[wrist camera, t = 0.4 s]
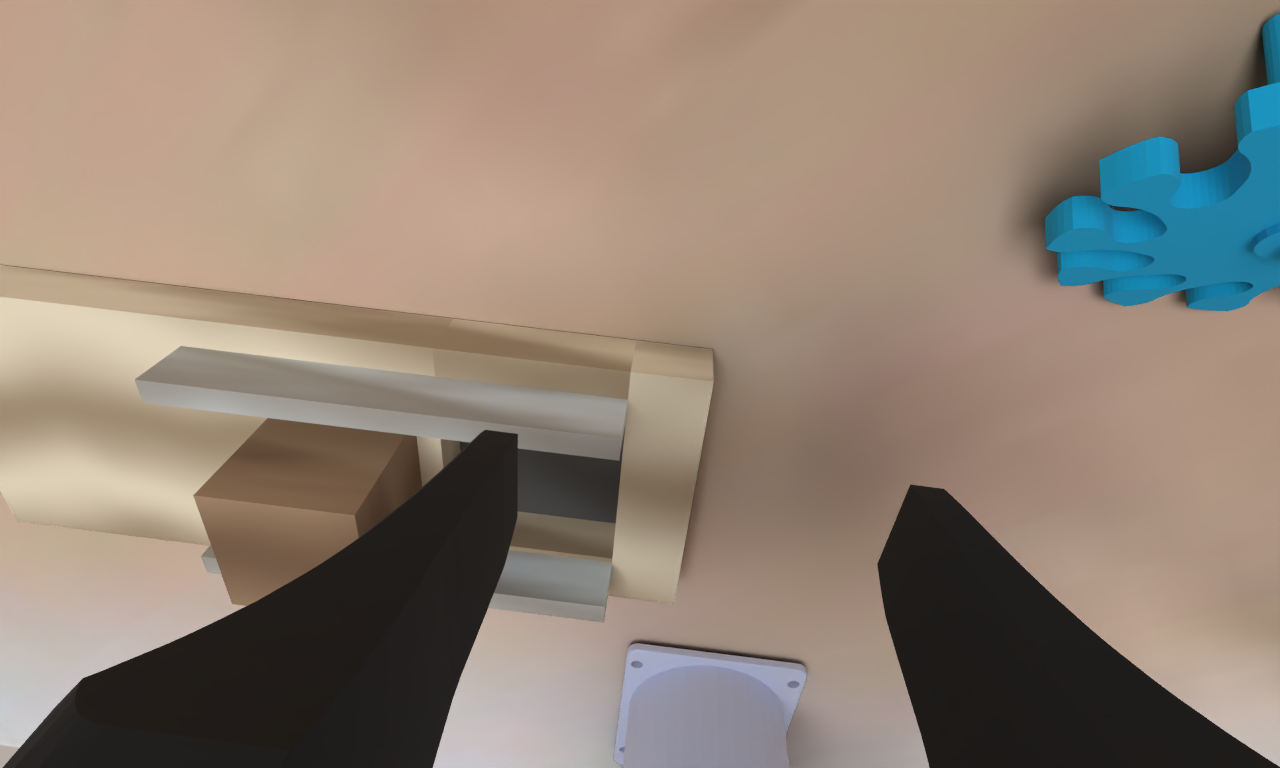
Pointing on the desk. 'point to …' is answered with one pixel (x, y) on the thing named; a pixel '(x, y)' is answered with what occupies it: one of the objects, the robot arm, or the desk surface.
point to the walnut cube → (300, 499)
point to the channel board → (349, 418)
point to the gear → (1183, 214)
